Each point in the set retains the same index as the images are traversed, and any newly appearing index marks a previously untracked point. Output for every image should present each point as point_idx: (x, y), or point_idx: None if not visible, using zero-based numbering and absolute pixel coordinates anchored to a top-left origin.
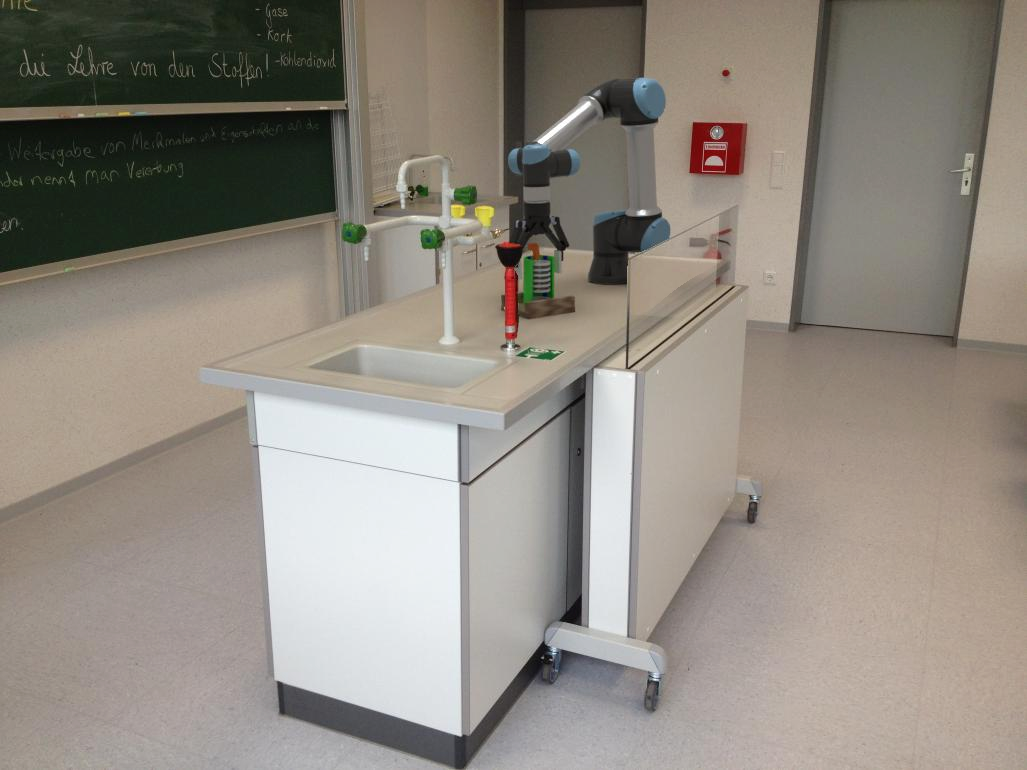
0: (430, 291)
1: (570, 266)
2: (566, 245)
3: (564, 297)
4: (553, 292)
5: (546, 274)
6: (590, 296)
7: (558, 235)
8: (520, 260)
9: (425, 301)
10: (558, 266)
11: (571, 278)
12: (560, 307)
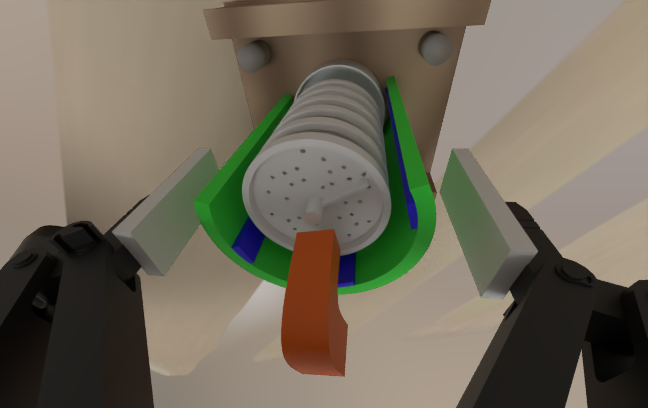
0: (411, 338)
1: (149, 330)
2: (34, 261)
3: (257, 14)
4: (275, 109)
5: (311, 108)
6: (140, 174)
7: (26, 381)
8: (508, 223)
9: (481, 308)
10: (196, 175)
11: (159, 293)
12: (294, 1)
